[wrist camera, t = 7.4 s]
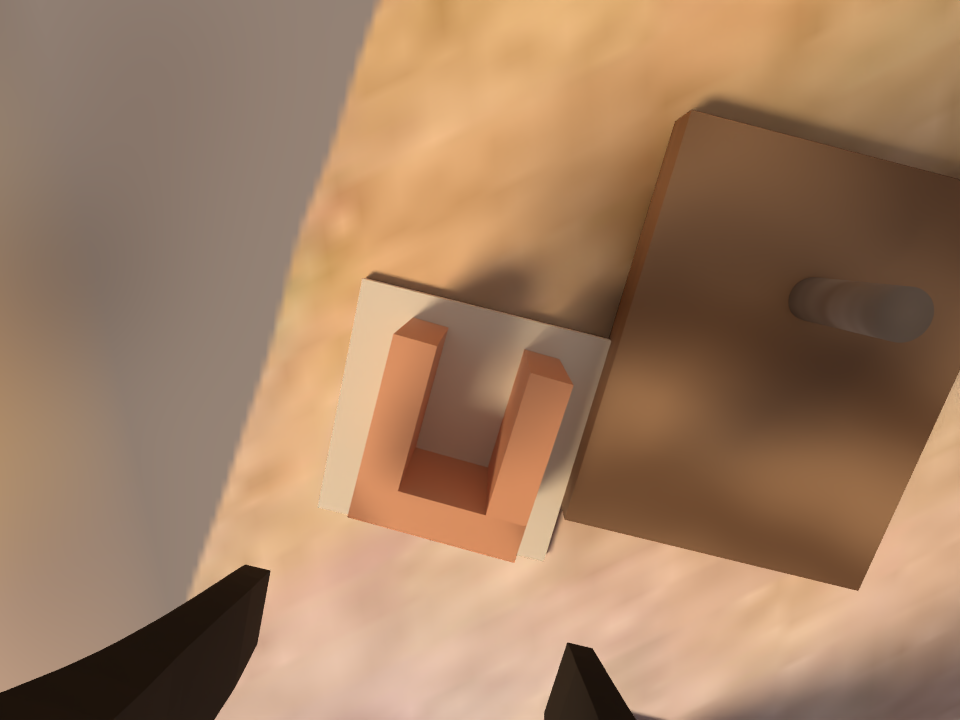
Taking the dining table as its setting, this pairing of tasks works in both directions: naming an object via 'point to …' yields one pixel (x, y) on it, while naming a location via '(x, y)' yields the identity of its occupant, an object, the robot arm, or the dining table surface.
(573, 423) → the felt mat
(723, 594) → the dining table surface
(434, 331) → the c link
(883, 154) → the dining table surface
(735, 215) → the stand
